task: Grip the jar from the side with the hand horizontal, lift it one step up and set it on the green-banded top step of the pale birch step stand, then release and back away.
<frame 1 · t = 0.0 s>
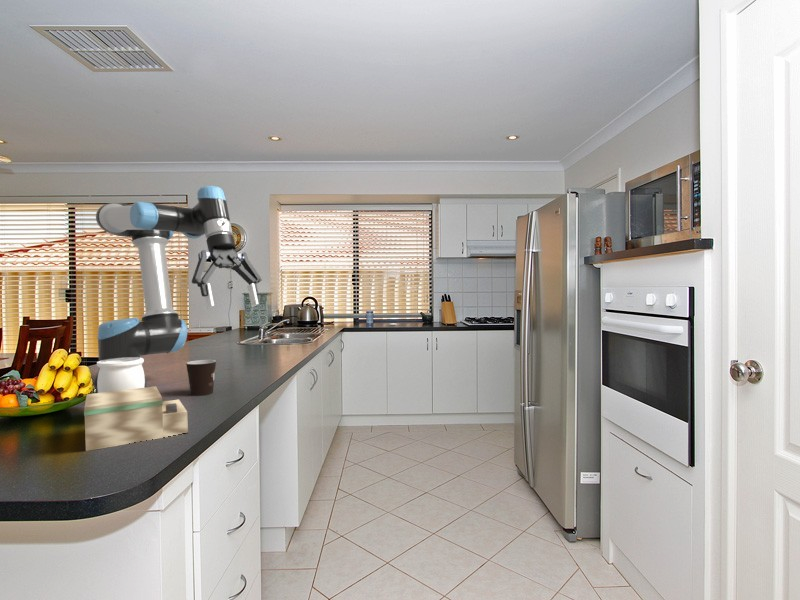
hand: (233, 306, 127), 28 cm above the table, tool tilted 20°, fingers open, 13 cm apart
jar: (122, 418, 115), on the table
step stand: (124, 435, 101), on the table
coffee mug: (205, 393, 143), on the table
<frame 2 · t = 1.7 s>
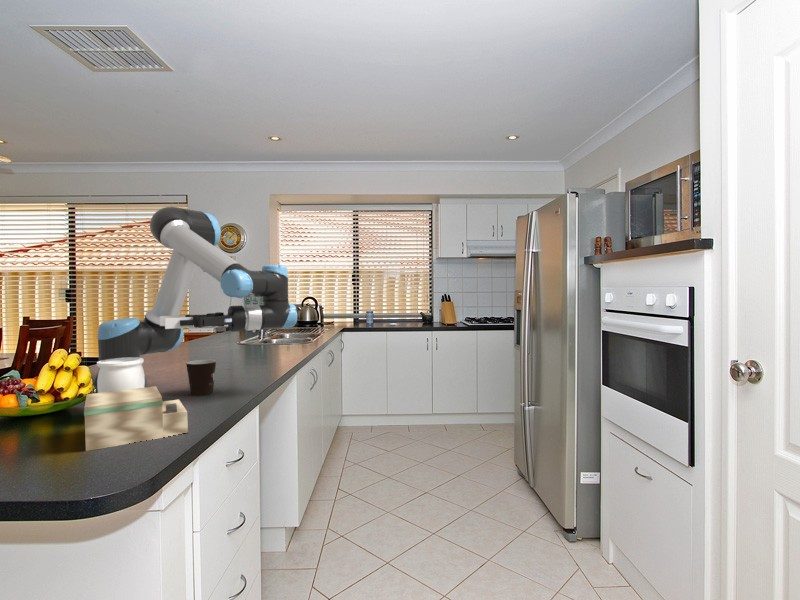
hand: (162, 322, 120), 24 cm above the table, tool horizontal, fingers open, 13 cm apart
nothing on the table moved.
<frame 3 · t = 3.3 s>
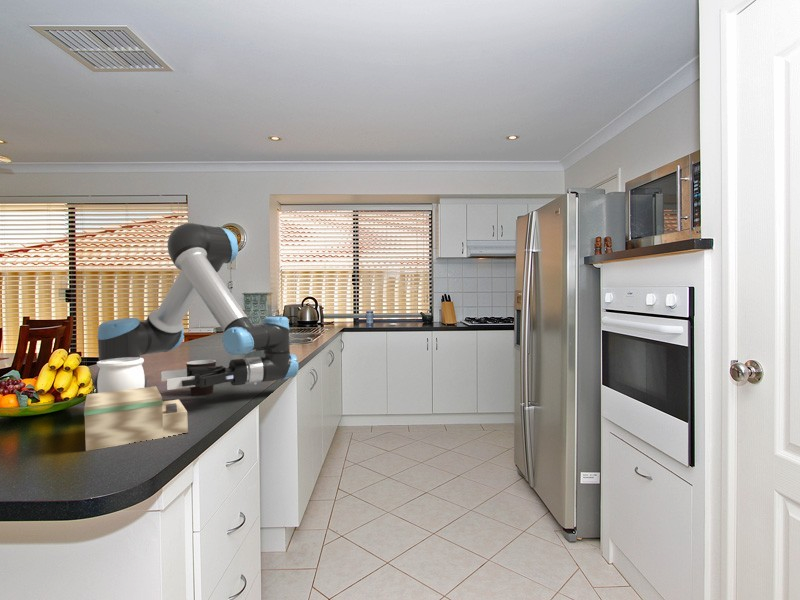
hand: (163, 380, 120), 9 cm above the table, tool horizontal, fingers open, 13 cm apart
nothing on the table moved.
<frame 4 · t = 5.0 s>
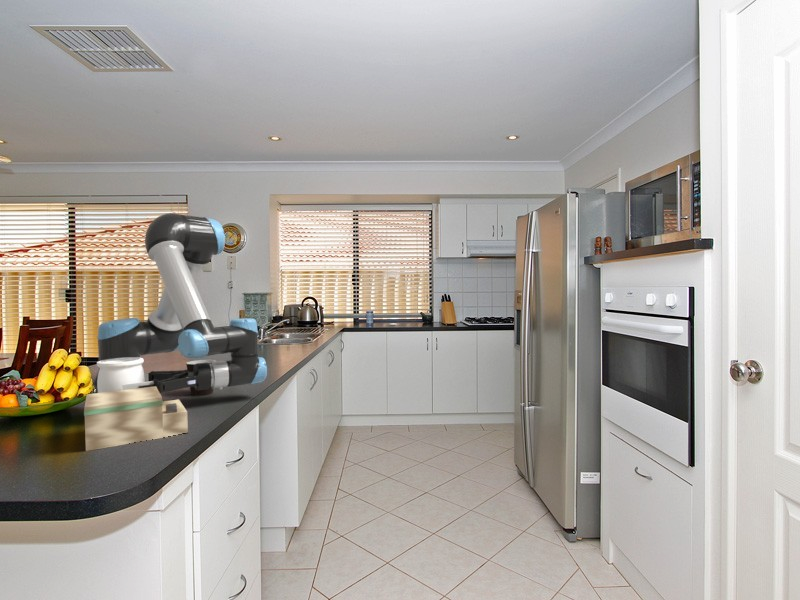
hand: (121, 385, 115), 8 cm above the table, tool horizontal, fingers open, 13 cm apart
nothing on the table moved.
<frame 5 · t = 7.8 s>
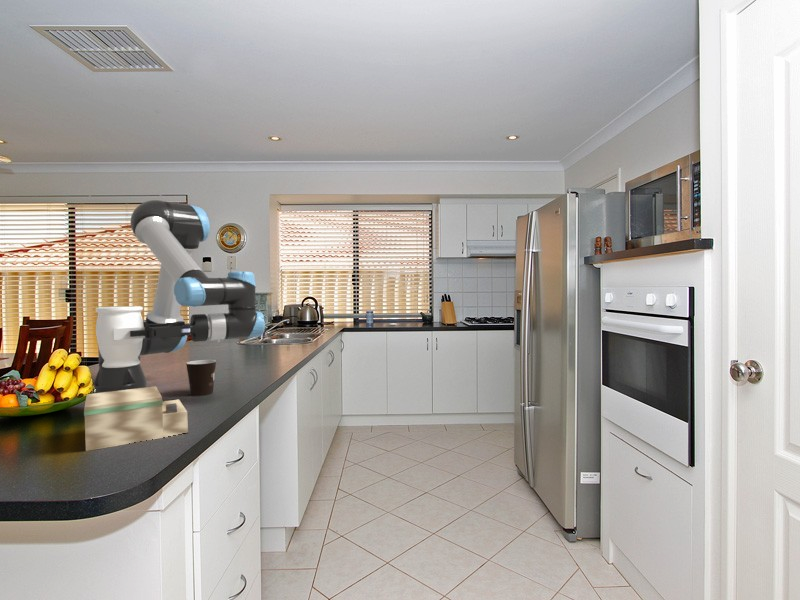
hand: (113, 332, 113), 22 cm above the table, tool horizontal, fingers closed on jar, 10 cm apart
jar: (121, 366, 114), point 13 cm above the table, touching gripper
everything else where it was.
when the fingers open (19 cm above the table, at t = 10.0 s): jar drops 1 cm, resting on step stand.
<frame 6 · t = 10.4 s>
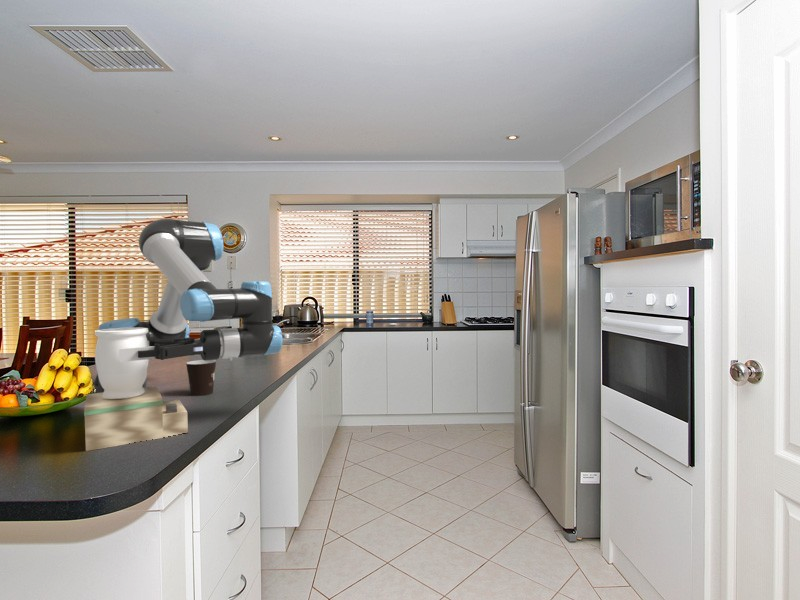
hand: (118, 351, 100), 19 cm above the table, tool horizontal, fingers open, 13 cm apart
jar: (123, 396, 101), point 9 cm above the table, touching step stand
everything else where it was.
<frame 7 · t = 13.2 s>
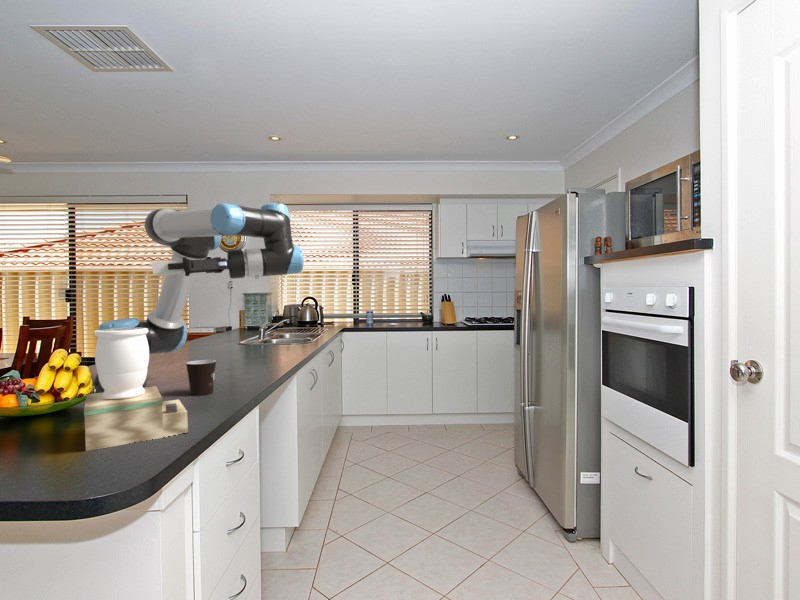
hand: (154, 269, 111), 38 cm above the table, tool horizontal, fingers open, 13 cm apart
nothing on the table moved.
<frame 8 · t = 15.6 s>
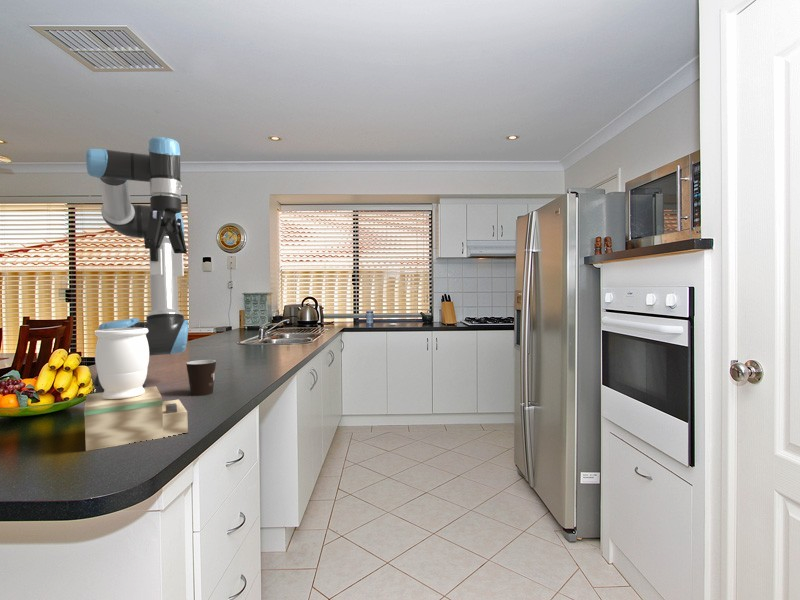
hand: (168, 275, 122), 37 cm above the table, tool pointing down, fingers open, 13 cm apart
nothing on the table moved.
at the end: jar 0.2 cm from the step stand (horizontally); jar point 8.8 cm above the table; jar tilted 0° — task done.
